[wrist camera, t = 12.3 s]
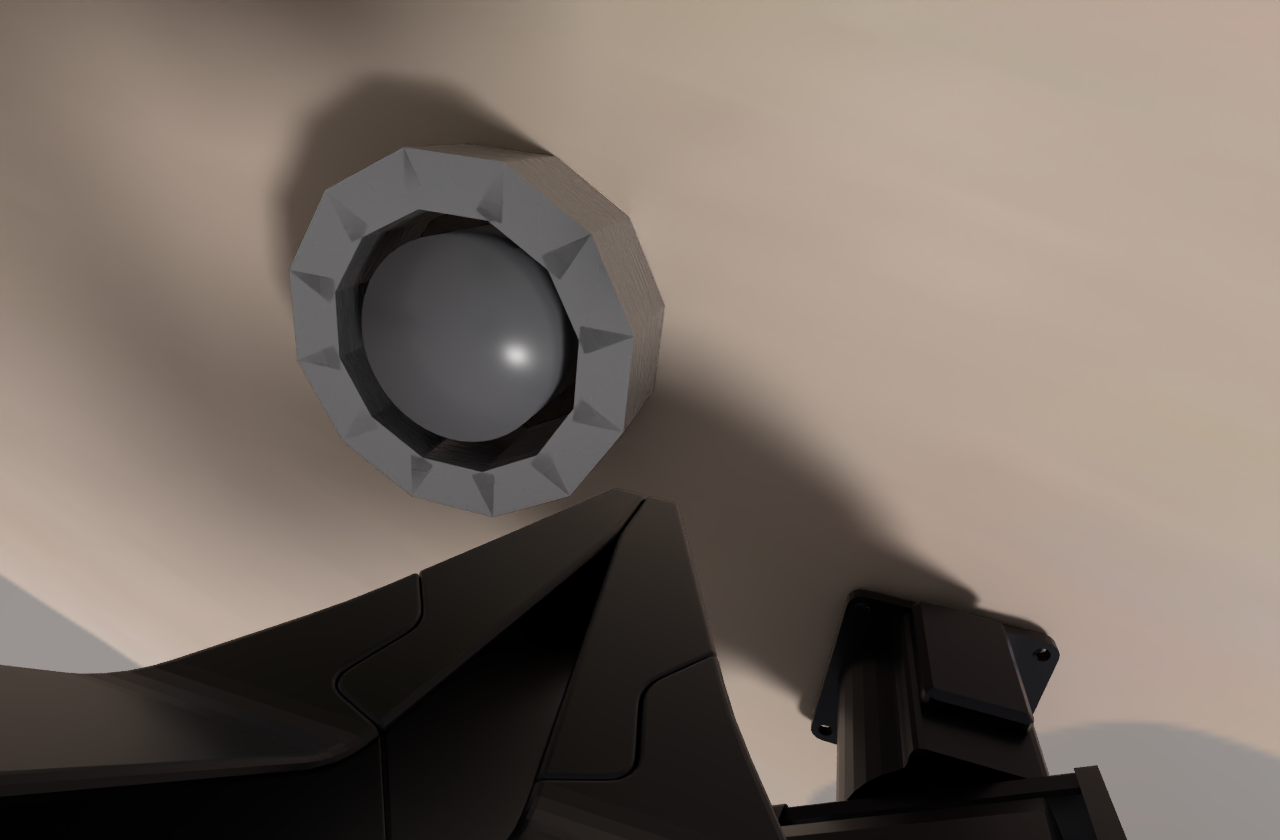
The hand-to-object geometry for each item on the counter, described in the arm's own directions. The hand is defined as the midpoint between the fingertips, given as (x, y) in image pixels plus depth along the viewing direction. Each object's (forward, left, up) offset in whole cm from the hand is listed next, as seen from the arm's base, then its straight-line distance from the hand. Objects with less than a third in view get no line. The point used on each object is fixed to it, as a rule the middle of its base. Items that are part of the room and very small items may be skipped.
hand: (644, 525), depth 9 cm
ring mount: (-2, +8, -13) cm, 15 cm away
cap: (-2, +8, -13) cm, 15 cm away
